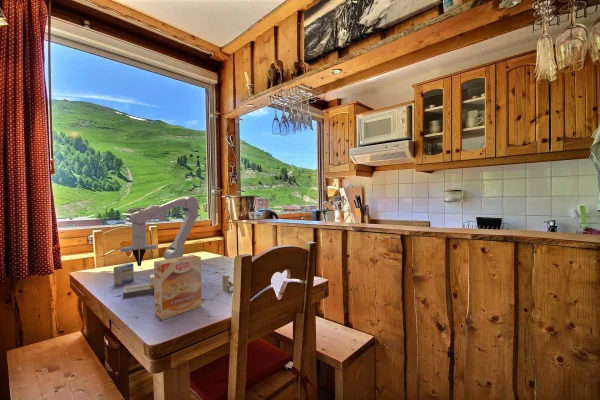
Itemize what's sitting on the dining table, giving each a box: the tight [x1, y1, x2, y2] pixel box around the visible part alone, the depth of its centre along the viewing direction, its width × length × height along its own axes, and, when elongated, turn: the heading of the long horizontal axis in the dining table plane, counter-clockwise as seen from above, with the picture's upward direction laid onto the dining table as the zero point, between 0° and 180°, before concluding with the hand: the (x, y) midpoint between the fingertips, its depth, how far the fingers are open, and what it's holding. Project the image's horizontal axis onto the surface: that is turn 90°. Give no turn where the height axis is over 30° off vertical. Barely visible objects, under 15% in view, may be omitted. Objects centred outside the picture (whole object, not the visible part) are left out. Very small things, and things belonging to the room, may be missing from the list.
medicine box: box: [113, 262, 135, 285], centre depth 137 cm, size 8×4×9 cm, turn 168°
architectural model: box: [221, 274, 234, 294], centre depth 122 cm, size 3×7×7 cm, turn 38°
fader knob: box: [149, 274, 154, 286], centre depth 125 cm, size 4×5×4 cm
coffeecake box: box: [153, 254, 202, 320], centre depth 101 cm, size 15×7×20 cm, turn 139°
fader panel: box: [122, 282, 154, 298], centre depth 123 cm, size 15×10×2 cm, turn 120°
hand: (139, 265), depth 128 cm, fingers closed
